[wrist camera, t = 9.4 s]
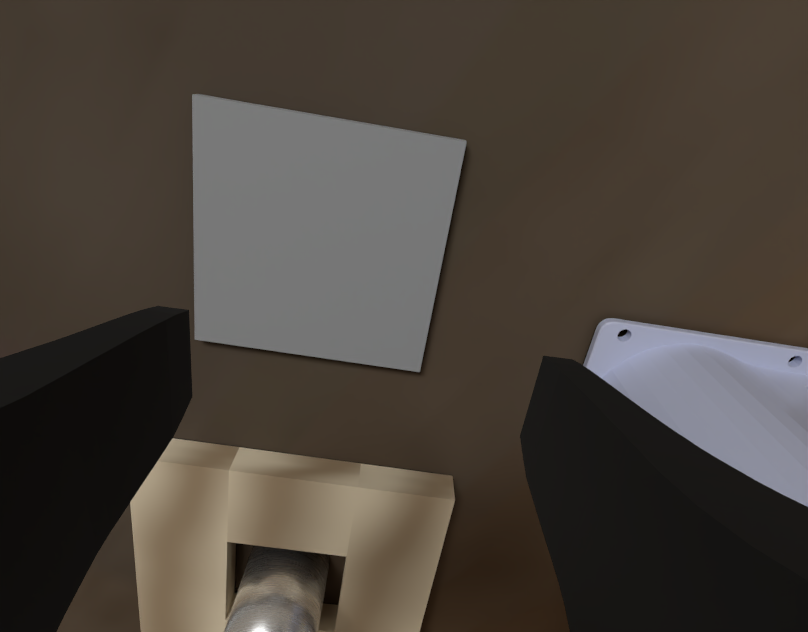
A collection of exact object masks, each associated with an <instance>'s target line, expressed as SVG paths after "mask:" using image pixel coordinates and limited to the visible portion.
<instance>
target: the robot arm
mask: <svg viewBox="0 0 808 632" xmlns="http://www.w3.org/2000/svg"><path fill="white" fill-rule="evenodd" d="M625 329H627V333H626V334H625V335H624V336H622V337H618V333H619V332H620V331H622V330H625ZM794 356H795V358H794V359H793V360H792V361H790V362H789V360H790V359H791V358H792V357H794ZM191 398H192V378H191V352H190V327H189V310H184V309H176V308H168V307H161V306H156V307H151V308H147V309H144V310H140V311H137V312H134V313H131V314H128V315H125V316H122V317H119V318H117V319H114V320H111V321H108V322H106V323H103V324H100V325H97V326H94V327H92V328H89V329H86V330H83V331H81V332H78V333H75V334H72V335H69V336H67V337H64V338H61V339H58V340H55V341H52V342H49V343H46V344H43V345H40V346H37V347H34V348H30V349H27V350H24V351H21V352H18V353H15V354H12V355H9V356H6V357H3V358H0V632H56V631H57V629H58V627H59V625H60V623H61V621H62V619H63V617H64V615H65V613H66V611H67V609H68V607H69V605H70V603H71V602H72V600H73V598H74V596H75V594H76V592H77V590H78V588H79V586H80V585H81V583H82V581H83V579H84V577H85V575H86V573H87V571H88V569H89V568H90V566H91V564H92V562H93V560H94V558H95V556H96V555H97V553H98V551H99V550H100V548H101V546H102V545H103V543H104V541H105V540H106V538H107V536H108V535H109V533H110V532H111V530H112V529H113V527H114V526H115V524H116V523H117V521H118V520H119V518H120V517H121V515H122V514H123V512H124V511H125V509H126V508H127V506H128V505H129V503H130V502H131V500H132V499H133V497H134V496H135V494H136V493H137V491H138V490H139V488H140V487H141V485H142V484H143V482H144V481H145V479H146V478H147V476H148V475H149V473H150V472H151V470H152V469H153V467H154V466H155V464H156V463H157V461H158V460H159V458H160V457H161V455H162V454H163V452H164V451H165V449H166V448H167V446H168V444H169V443H170V441H171V440H172V438H173V436H174V434H175V432H176V430H177V428H178V426H179V424H180V422H181V420H182V418H183V416H184V414H185V411H186V409H187V407H188V405H189V402H190V400H191ZM520 438H521V445H522V453H523V460H524V465H525V471H526V477H527V481H528V484H529V488H530V491H531V495H532V498H533V501H534V505H535V508H536V511H537V514H538V518H539V521H540V524H541V527H542V530H543V534H544V537H545V540H546V543H547V546H548V550H549V553H550V556H551V559H552V562H553V566H554V569H555V572H556V575H557V578H558V582H559V586H560V589H561V593H562V597H563V601H564V605H565V609H566V614H567V619H568V624H569V629H570V632H808V348H802V347H796V346H789V345H783V344H776V343H770V342H764V341H757V340H751V339H744V338H738V337H731V336H725V335H718V334H712V333H705V332H699V331H692V330H686V329H680V328H673V327H667V326H660V325H654V324H647V323H641V322H634V321H628V320H621V319H615V318H607V319H605V320H603V321H601V322H600V323H599V324H598V326H597V328H596V330H595V333H594V336H593V339H592V342H591V344H590V347H589V350H588V353H587V356H586V358H585V361H584V364H583V365H581V364H580V363H578V362H576V361H574V360H572V359H565V358H557V357H549V356H543V359H542V363H541V366H540V370H539V373H538V377H537V380H536V383H535V387H534V390H533V394H532V397H531V400H530V404H529V407H528V411H527V414H526V418H525V421H524V424H523V428H522V431H521V435H520Z"/></svg>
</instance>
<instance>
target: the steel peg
mask: <svg viewBox="0 0 808 632" xmlns="http://www.w3.org/2000/svg"><path fill="white" fill-rule="evenodd" d="M329 562H330V560H329V555H328V554H321V553H313V552H305V551H297V550H289V549H281V548H272V547H264V546H256V545H254V546H253V548H252V550H251V553H250V556H249V559H248V562H247V565H246V568H245V571H244V574H243V577H242V580H241V583H240V586H239V589H238V592H237V595H236V598H235V601H234V604H233V607H232V610H231V613H230V616H229V619H228V621H227V624H226V627H225V630H224V632H318V629H319V623H320V617H321V611H322V605H323V599H324V594H325V588H326V582H327V576H328V570H329Z"/></svg>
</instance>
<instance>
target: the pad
mask: <svg viewBox="0 0 808 632" xmlns="http://www.w3.org/2000/svg"><path fill="white" fill-rule="evenodd" d="M192 118H193V214H194V311H195V340H201V341H208V342H215V343H222V344H229V345H236V346H243V347H249V348H256V349H263V350H270V351H277V352H284V353H291V354H298V355H304V356H311V357H318V358H325V359H332V360H339V361H346V362H353V363H360V364H366V365H373V366H380V367H387V368H394V369H401V370H408V371H415V372H420V369H421V364H422V359H423V354H424V349H425V344H426V339H427V334H428V330H429V325H430V320H431V315H432V310H433V305H434V300H435V295H436V290H437V285H438V280H439V275H440V271H441V266H442V261H443V256H444V251H445V246H446V241H447V236H448V231H449V226H450V221H451V216H452V212H453V207H454V202H455V197H456V192H457V187H458V182H459V177H460V172H461V167H462V162H463V157H464V153H465V148H466V143H467V142H466V140H462V139H456V138H450V137H445V136H439V135H433V134H427V133H421V132H416V131H410V130H404V129H398V128H392V127H387V126H381V125H375V124H369V123H363V122H358V121H352V120H346V119H340V118H334V117H329V116H323V115H317V114H311V113H306V112H300V111H294V110H288V109H282V108H277V107H271V106H265V105H259V104H253V103H248V102H242V101H236V100H230V99H224V98H219V97H213V96H207V95H201V94H192Z"/></svg>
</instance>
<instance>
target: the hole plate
mask: <svg viewBox="0 0 808 632" xmlns="http://www.w3.org/2000/svg"><path fill="white" fill-rule="evenodd" d="M454 502H455V495H454V485H453V476H450V475H442V474H435V473H428V472H420V471H413V470H405V469H398V468H390V467H383V466H375V465H368V464H360V463H353V462H346V461H338V460H331V459H323V458H316V457H308V456H301V455H293V454H286V453H278V452H271V451H263V450H256V449H249V448H241V447H234V446H226V445H219V444H211V443H204V442H196V441H189V440H181V439H174V438H172V440H171V441H170V443H169V444H168V446H167V448H166V449H165V451H164V452H163V454H162V455H161V457H160V458H159V460H158V461H157V463H156V464H155V466H154V467H153V469H152V470H151V472H150V473H149V475H148V476H147V478H146V479H145V481H144V482H143V484H142V485H141V487H140V488H139V490H138V491H137V493H136V494H135V496H134V497H133V499H132V500H131V502H130V505H131V517H132V529H133V541H134V553H135V565H136V578H137V590H138V602H139V614H140V626H141V632H224V630H225V627H226V624H227V621H228V619H229V616H230V613H231V610H232V607H233V604H234V601H235V598H236V595H237V593H235V563H236V543H240V544H248V545H256V546H264V547H272V548H281V549H289V550H297V551H305V552H313V553H321V554H329V555H337V556H345V557H346V559H345V565H344V571H343V578H342V584H341V590H340V596H339V602H338V605H334V604H325V603H323V605H322V611H321V617H320V623H319V629H318V632H420V628H421V625H422V621H423V617H424V613H425V610H426V606H427V602H428V599H429V595H430V591H431V587H432V584H433V580H434V576H435V573H436V569H437V565H438V562H439V558H440V554H441V550H442V547H443V543H444V539H445V536H446V532H447V528H448V524H449V521H450V517H451V513H452V510H453V506H454Z"/></svg>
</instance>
